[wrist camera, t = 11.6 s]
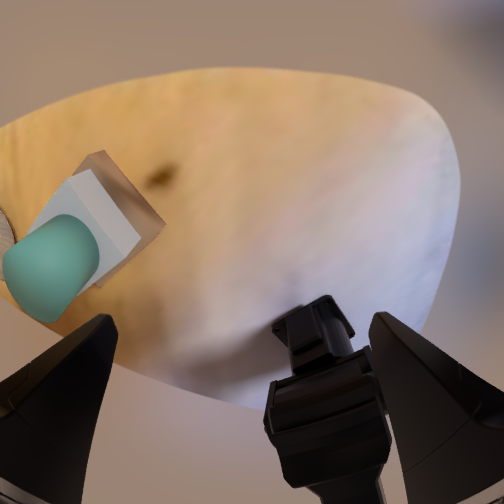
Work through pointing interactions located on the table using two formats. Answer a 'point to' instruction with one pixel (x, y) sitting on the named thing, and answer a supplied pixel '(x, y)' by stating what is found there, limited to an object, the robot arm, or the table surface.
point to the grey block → (93, 219)
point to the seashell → (4, 240)
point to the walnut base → (123, 204)
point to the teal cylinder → (51, 266)
